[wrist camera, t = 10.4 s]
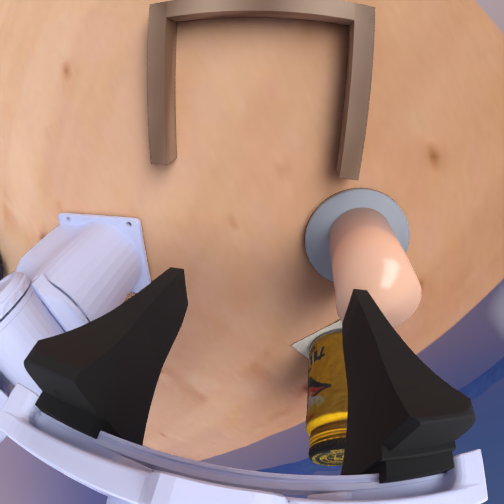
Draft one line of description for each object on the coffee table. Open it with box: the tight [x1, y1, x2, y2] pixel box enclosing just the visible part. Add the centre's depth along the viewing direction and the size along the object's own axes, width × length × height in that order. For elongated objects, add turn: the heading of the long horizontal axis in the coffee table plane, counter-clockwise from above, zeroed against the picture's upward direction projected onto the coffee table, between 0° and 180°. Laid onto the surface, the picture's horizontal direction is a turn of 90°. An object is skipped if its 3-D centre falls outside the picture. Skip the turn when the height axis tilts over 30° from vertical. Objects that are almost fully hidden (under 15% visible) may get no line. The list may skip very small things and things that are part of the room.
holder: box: [147, 0, 375, 180], centre depth 15 cm, size 13×11×2 cm
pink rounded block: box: [328, 207, 421, 328], centre depth 18 cm, size 7×5×7 cm
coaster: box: [305, 188, 410, 282], centre depth 21 cm, size 8×8×1 cm
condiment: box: [292, 320, 348, 466], centre depth 22 cm, size 7×8×12 cm
